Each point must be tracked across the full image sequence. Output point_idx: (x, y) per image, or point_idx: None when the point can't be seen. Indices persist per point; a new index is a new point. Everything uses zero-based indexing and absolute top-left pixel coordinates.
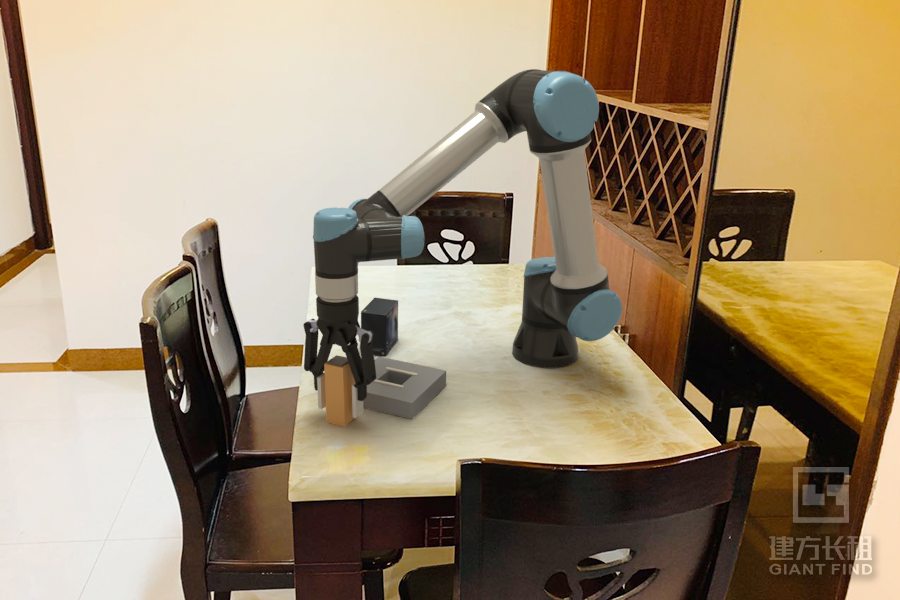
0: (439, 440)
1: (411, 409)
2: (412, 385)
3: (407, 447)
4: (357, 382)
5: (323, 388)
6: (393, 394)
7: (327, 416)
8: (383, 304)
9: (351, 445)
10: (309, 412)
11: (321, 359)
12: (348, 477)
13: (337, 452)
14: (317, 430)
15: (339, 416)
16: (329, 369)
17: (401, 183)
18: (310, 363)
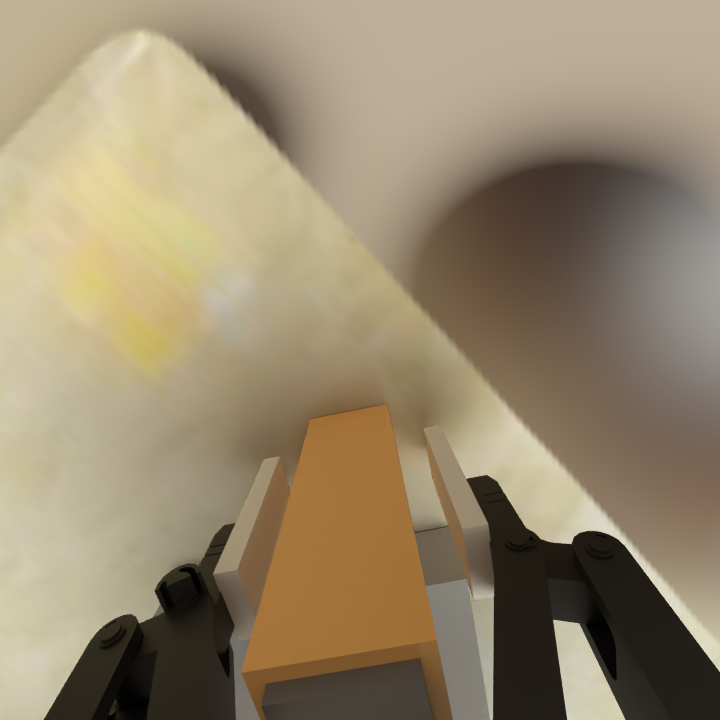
0: (10, 534)
1: (159, 608)
2: (244, 717)
3: (43, 446)
4: (184, 603)
5: (446, 499)
6: (245, 642)
7: (383, 415)
8: None
9: (191, 340)
10: (488, 415)
11: (502, 679)
12: (13, 163)
13: (189, 272)
14: (369, 340)
15: (328, 432)
16: (378, 608)
17: None
18: (596, 598)
